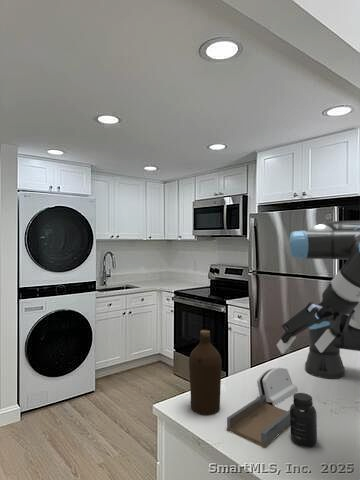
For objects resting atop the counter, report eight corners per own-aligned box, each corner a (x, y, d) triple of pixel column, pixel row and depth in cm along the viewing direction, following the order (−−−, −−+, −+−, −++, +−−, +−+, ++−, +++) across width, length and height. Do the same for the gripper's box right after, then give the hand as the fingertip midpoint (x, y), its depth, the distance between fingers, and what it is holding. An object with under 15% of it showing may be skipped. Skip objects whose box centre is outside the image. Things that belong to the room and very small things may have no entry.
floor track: (262, 405, 110) (262, 394, 110) (297, 418, 102) (297, 406, 102) (227, 430, 96) (227, 417, 96) (264, 447, 87) (264, 434, 87)
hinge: (273, 407, 109) (264, 375, 111) (262, 407, 112) (253, 376, 115) (298, 391, 120) (289, 362, 123) (287, 391, 124) (278, 363, 126)
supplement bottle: (297, 430, 95) (297, 388, 95) (321, 440, 90) (321, 396, 90) (285, 440, 90) (285, 396, 91) (310, 451, 86) (309, 405, 86)
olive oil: (225, 415, 104) (224, 335, 104) (191, 417, 103) (191, 336, 103) (218, 399, 114) (217, 326, 114) (187, 401, 113) (186, 327, 113)
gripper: (315, 301, 72) (269, 362, 82) (390, 305, 82) (341, 359, 92) (296, 277, 77) (256, 337, 88) (369, 284, 88) (325, 337, 98)
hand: (299, 348), depth 90 cm, fingers open, 13 cm apart
